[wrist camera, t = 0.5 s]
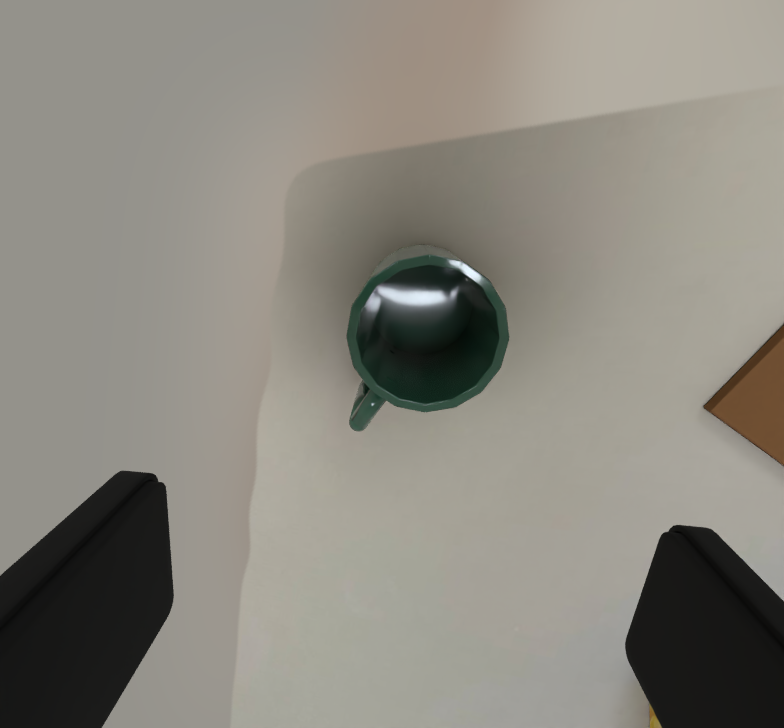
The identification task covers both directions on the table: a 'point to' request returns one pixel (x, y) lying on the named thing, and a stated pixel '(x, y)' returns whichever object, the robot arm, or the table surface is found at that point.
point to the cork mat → (757, 399)
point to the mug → (424, 333)
